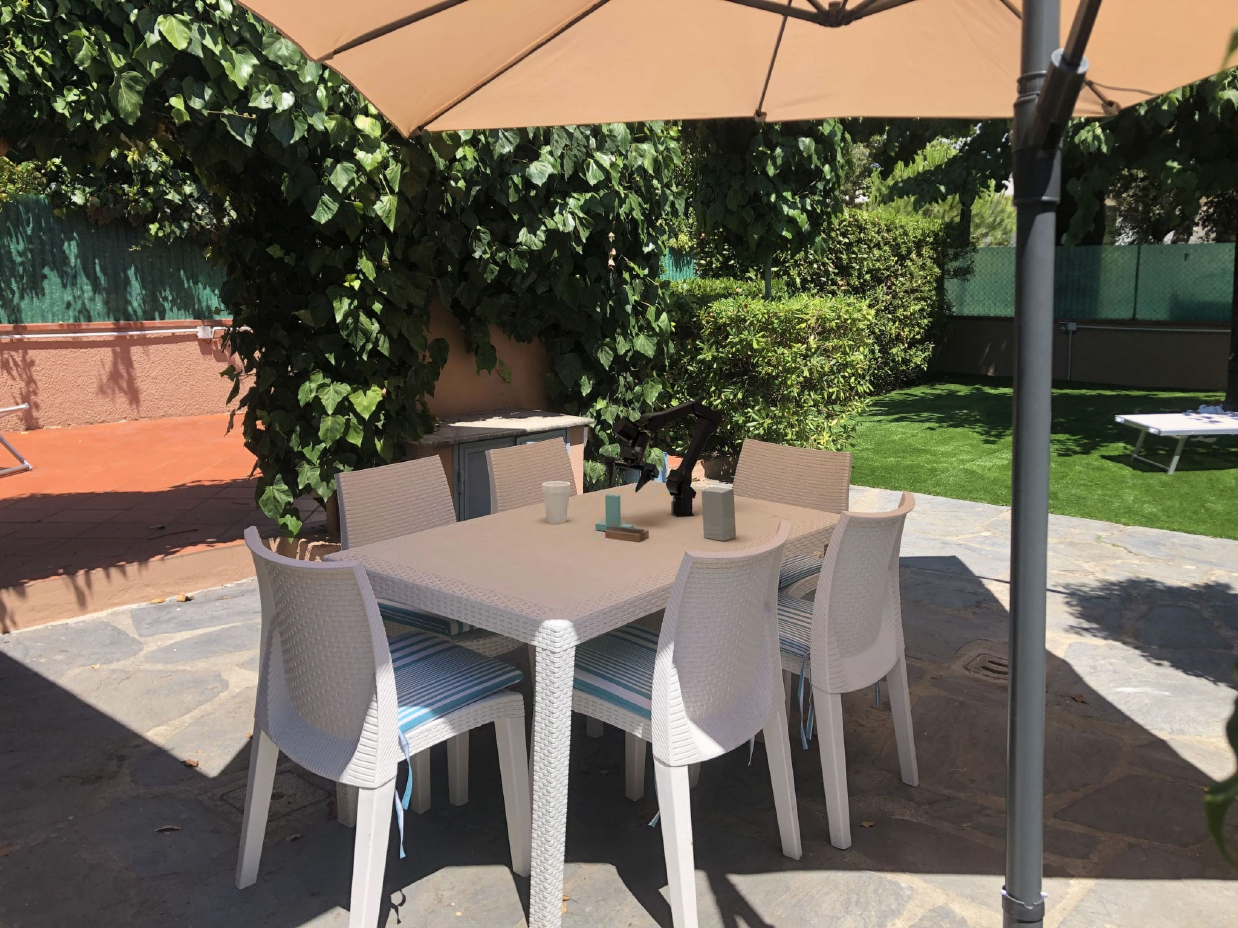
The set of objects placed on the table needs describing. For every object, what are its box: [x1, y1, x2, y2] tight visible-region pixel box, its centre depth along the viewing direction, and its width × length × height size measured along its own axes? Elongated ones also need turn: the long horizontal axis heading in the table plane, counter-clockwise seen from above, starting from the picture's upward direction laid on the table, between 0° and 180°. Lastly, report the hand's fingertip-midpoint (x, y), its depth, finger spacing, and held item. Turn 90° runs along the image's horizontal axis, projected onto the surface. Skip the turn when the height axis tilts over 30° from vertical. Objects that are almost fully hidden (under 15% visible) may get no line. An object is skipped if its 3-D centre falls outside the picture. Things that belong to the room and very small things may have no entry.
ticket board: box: [604, 525, 650, 543], centre depth 309 cm, size 6×13×4 cm, turn 60°
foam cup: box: [541, 480, 571, 525], centre depth 332 cm, size 10×9×13 cm
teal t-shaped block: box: [594, 493, 635, 531], centre depth 317 cm, size 4×12×12 cm, turn 60°
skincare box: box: [701, 486, 737, 542], centre depth 306 cm, size 8×7×16 cm
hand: (622, 489), depth 322 cm, fingers open, 9 cm apart
